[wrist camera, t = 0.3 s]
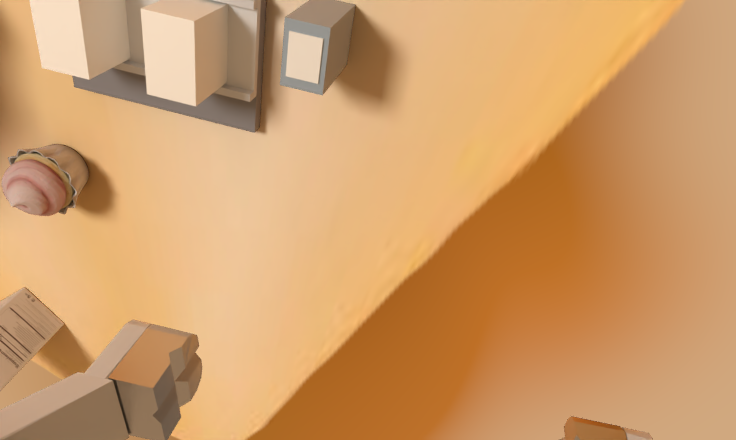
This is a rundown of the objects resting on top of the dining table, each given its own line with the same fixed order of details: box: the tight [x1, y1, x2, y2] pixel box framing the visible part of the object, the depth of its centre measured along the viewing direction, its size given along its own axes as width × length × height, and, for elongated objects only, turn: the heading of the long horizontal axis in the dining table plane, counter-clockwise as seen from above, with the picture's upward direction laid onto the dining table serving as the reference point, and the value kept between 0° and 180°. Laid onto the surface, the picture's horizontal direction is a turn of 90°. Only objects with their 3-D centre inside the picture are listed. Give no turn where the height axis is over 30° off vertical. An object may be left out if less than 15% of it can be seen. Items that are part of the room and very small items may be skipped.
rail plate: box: [29, 0, 266, 133], centre depth 54 cm, size 19×22×9 cm
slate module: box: [280, 0, 355, 95], centre depth 51 cm, size 6×4×9 cm, turn 171°
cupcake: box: [2, 144, 89, 216], centre depth 67 cm, size 9×9×10 cm
